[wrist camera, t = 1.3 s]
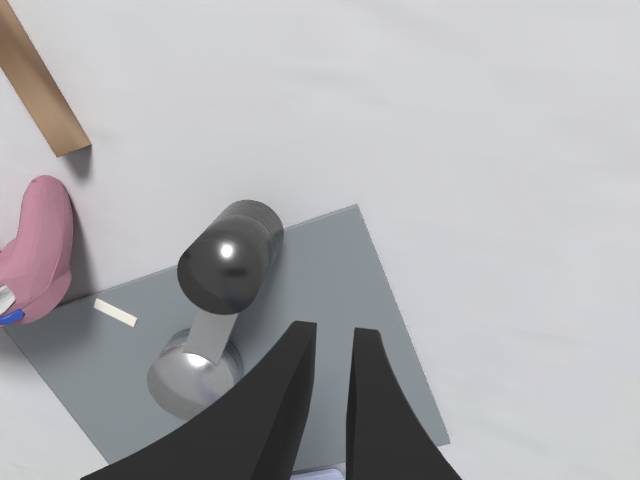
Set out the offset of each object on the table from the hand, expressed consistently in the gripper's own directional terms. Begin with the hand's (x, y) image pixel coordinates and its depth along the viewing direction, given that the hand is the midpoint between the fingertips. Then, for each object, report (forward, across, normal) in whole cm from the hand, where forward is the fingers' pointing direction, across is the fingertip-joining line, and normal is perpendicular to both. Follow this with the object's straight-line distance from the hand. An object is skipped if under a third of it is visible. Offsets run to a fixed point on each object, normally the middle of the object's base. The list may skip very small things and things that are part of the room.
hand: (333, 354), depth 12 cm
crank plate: (+9, +7, +10) cm, 16 cm away
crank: (+9, +6, +5) cm, 12 cm away
